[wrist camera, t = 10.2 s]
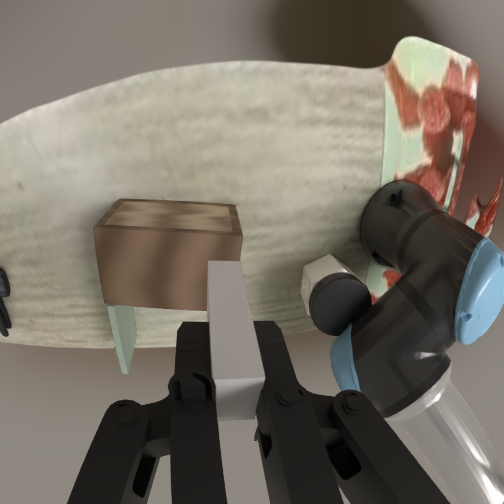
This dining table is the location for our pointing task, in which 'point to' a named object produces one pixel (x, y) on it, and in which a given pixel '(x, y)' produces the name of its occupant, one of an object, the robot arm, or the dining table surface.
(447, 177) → the dining table surface
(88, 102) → the dining table surface
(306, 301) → the jar
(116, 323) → the door
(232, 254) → the case
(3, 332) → the can opener
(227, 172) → the dining table surface
